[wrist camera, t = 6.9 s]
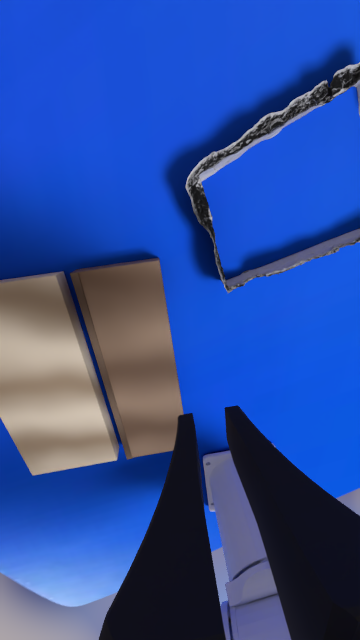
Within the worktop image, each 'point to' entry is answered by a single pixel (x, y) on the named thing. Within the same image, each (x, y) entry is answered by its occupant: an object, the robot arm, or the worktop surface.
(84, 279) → the walnut strip
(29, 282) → the maple plank
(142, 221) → the worktop surface
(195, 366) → the worktop surface
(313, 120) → the worktop surface
